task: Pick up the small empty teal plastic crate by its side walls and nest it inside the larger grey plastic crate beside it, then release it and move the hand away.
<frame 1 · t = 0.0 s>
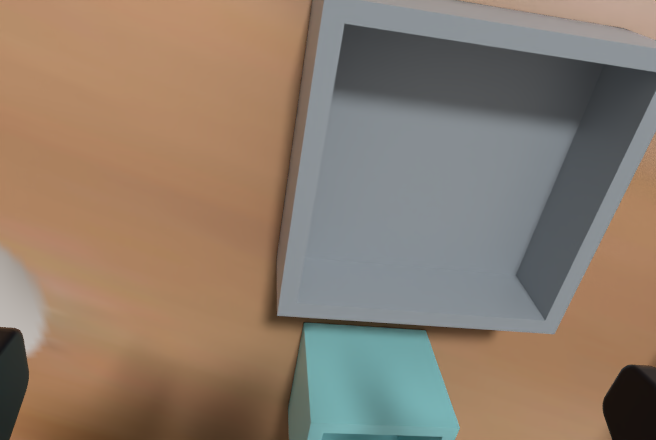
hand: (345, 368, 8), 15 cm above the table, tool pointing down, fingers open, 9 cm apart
small crate: (354, 370, 29), on the table
big crate: (434, 153, 23), on the table
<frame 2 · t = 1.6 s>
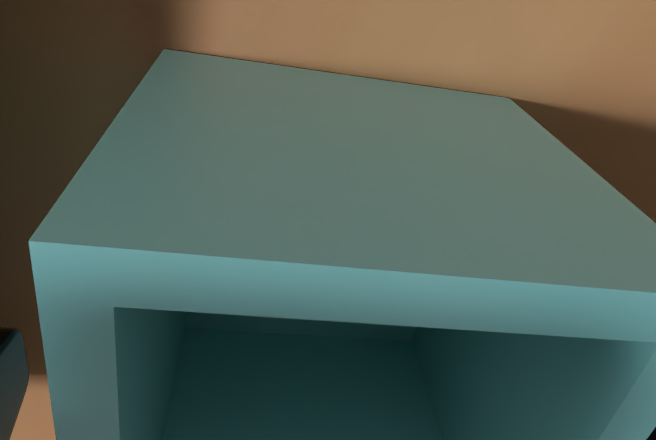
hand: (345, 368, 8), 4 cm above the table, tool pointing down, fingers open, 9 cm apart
small crate: (318, 223, 11), on the table
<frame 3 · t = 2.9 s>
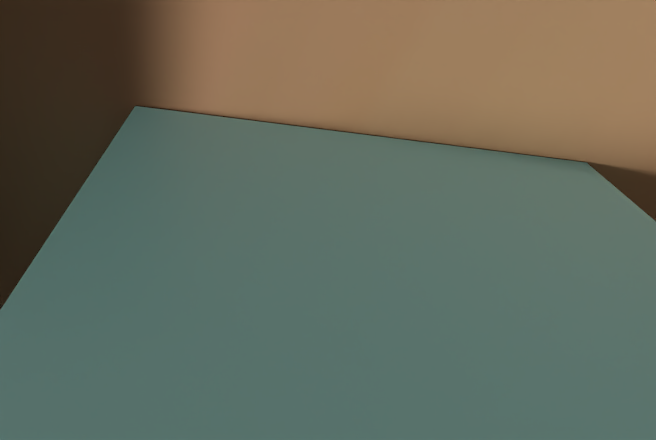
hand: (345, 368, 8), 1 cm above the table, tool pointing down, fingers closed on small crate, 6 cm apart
small crate: (336, 313, 9), on the table, touching gripper
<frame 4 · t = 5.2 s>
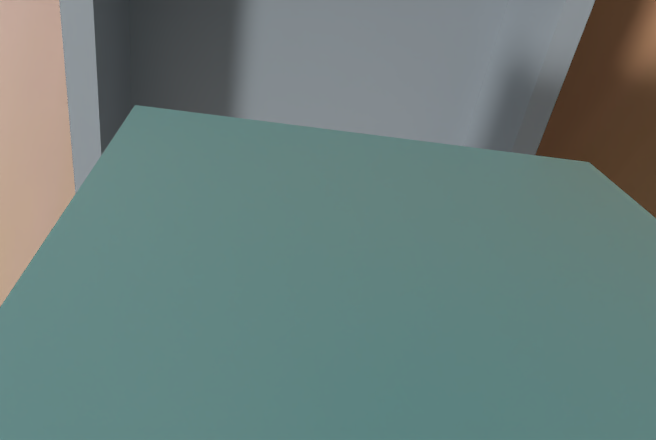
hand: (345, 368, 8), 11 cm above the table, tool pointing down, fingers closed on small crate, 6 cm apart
small crate: (337, 313, 9), point 10 cm above the table, touching gripper
big crate: (304, 112, 18), on the table
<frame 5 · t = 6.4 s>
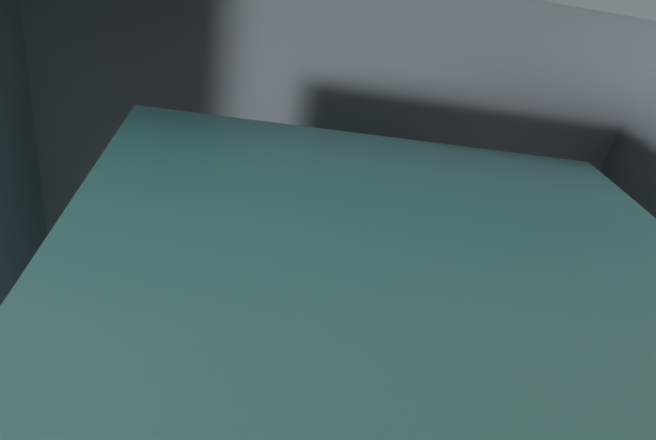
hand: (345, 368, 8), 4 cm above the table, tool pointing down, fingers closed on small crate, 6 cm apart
small crate: (337, 313, 9), point 3 cm above the table, touching gripper
big crate: (318, 218, 12), on the table
when the fingers open (3 cm above the table, at t = 7.5 s): small crate drops 1 cm, resting on big crate.
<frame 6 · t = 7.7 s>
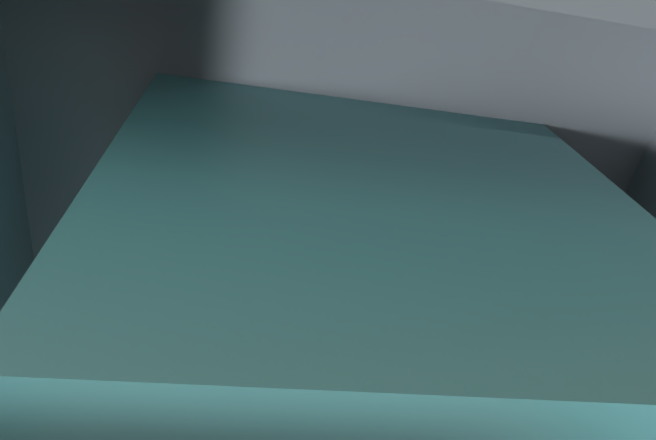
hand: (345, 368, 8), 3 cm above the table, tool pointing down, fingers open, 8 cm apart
small crate: (329, 261, 10), point 1 cm above the table, touching big crate
big crate: (323, 239, 11), on the table
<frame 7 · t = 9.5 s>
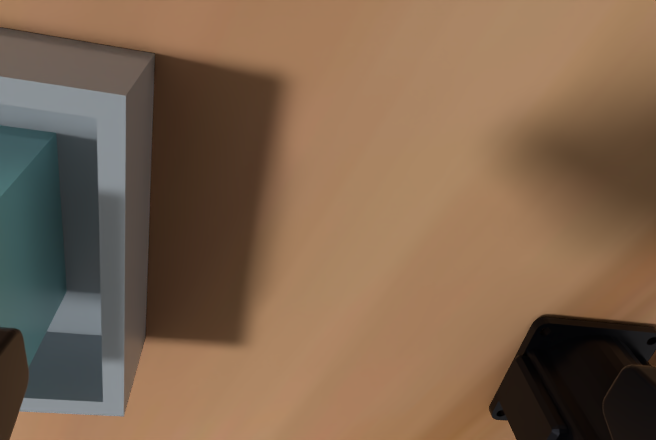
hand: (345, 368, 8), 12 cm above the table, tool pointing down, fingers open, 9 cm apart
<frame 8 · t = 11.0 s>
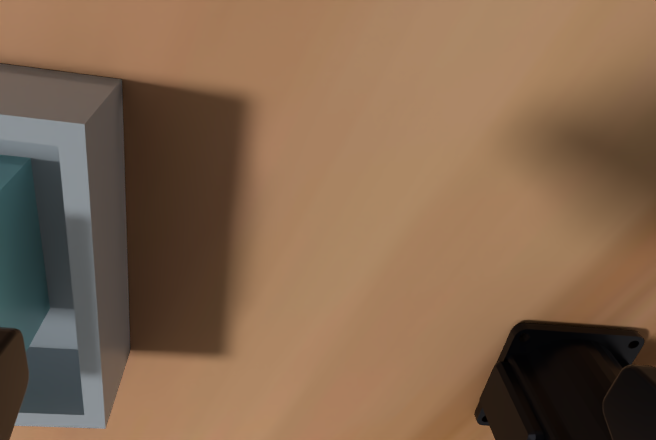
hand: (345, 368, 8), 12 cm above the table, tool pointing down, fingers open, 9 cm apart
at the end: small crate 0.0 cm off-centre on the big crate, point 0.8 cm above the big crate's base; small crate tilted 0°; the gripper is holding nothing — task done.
